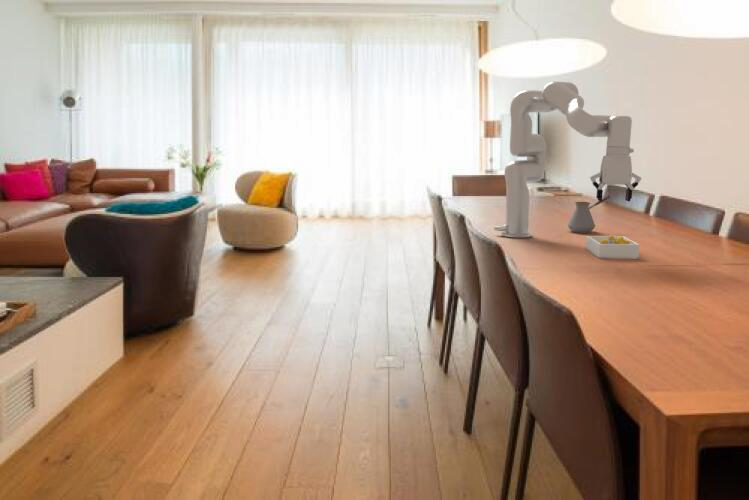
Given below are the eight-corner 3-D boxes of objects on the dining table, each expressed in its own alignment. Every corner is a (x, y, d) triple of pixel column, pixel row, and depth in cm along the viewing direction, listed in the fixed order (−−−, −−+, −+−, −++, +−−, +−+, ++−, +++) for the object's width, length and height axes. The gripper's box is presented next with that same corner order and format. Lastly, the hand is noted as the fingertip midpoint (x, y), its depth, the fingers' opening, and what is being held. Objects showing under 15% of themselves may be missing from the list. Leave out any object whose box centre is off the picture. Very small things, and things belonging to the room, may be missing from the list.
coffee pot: (579, 234, 261) (581, 199, 258) (561, 230, 272) (563, 197, 269) (618, 231, 269) (620, 197, 267) (599, 227, 280) (601, 194, 277)
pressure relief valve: (599, 253, 221) (629, 252, 218) (600, 245, 210) (631, 244, 207) (598, 239, 223) (628, 237, 219) (599, 230, 212) (630, 228, 208)
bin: (598, 258, 212) (599, 244, 211) (585, 248, 229) (586, 235, 228) (638, 258, 211) (639, 244, 210) (622, 249, 228) (623, 236, 227)
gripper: (639, 151, 216) (635, 199, 220) (589, 151, 218) (586, 199, 221) (647, 152, 209) (642, 202, 213) (595, 152, 210) (591, 201, 214)
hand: (613, 200), depth 217 cm, fingers open, 9 cm apart
